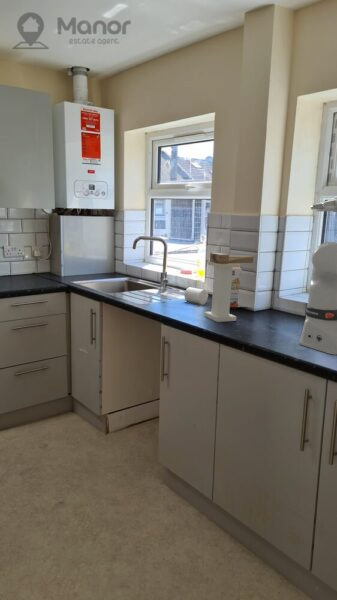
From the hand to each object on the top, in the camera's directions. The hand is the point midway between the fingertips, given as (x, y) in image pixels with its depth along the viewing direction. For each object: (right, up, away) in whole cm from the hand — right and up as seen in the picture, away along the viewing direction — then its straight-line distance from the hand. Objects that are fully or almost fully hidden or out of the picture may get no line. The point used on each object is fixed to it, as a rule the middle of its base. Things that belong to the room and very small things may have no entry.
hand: (316, 206), depth 199 cm
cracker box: (-32, -45, +39) cm, 68 cm away
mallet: (-36, -24, +8) cm, 44 cm away
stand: (-42, -50, +11) cm, 66 cm away
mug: (-50, -43, +46) cm, 80 cm away
